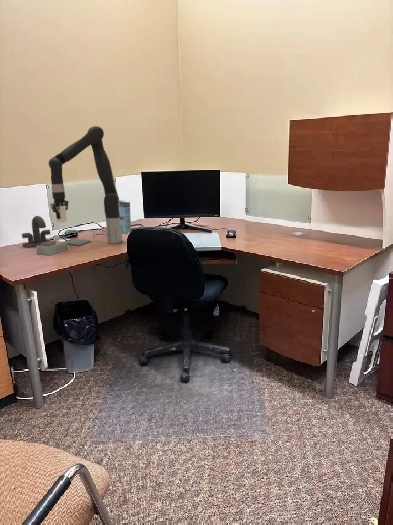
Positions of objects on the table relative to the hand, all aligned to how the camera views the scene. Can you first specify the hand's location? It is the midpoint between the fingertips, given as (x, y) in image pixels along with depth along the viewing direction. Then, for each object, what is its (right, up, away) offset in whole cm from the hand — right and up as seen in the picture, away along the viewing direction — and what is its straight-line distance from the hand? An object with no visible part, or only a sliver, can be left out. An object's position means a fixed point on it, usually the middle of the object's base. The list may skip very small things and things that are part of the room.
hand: (61, 218), depth 264 cm
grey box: (-4, -21, -3) cm, 22 cm away
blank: (0, -2, +1) cm, 2 cm away
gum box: (+30, -5, +49) cm, 58 cm away
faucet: (-17, -17, +11) cm, 27 cm away
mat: (+5, -15, +16) cm, 23 cm away
